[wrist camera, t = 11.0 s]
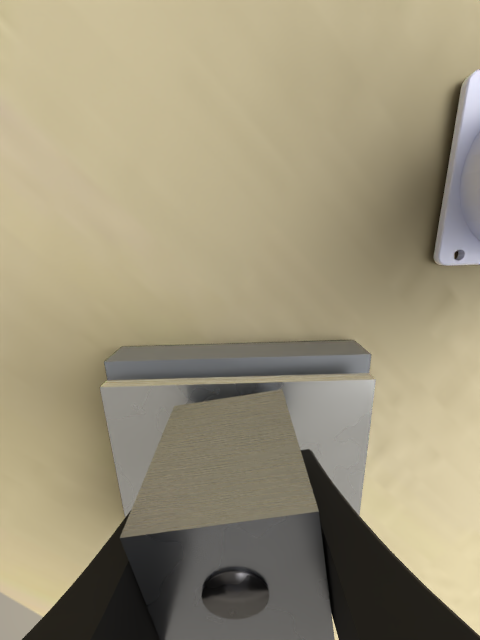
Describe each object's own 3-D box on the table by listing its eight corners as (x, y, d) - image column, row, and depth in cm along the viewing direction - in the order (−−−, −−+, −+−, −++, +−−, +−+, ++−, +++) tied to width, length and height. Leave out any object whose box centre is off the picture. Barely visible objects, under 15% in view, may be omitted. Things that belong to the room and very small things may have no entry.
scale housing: (353, 340, 15) (376, 358, 12) (332, 577, 20) (344, 623, 17) (121, 346, 15) (98, 366, 12) (159, 581, 20) (148, 627, 18)
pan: (351, 355, 14) (375, 379, 11) (335, 526, 17) (352, 573, 15) (124, 361, 14) (99, 387, 11) (152, 530, 17) (137, 578, 15)
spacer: (295, 477, 12) (335, 644, 7) (197, 490, 12) (167, 662, 7) (282, 389, 10) (319, 514, 6) (174, 405, 11) (117, 541, 6)
